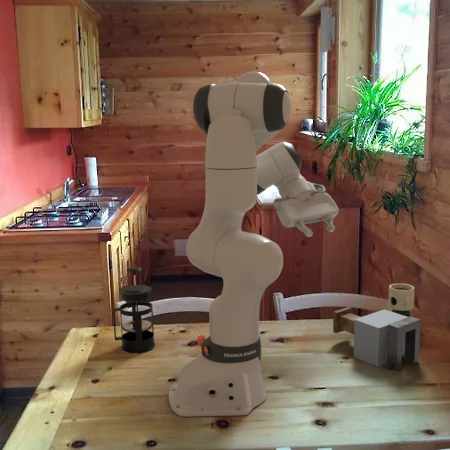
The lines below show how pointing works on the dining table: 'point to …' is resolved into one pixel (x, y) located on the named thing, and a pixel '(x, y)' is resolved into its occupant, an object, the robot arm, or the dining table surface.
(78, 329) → the dining table surface
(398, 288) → the character mug
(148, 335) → the french press
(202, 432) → the dining table surface
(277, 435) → the dining table surface
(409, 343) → the block
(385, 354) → the grey rectangular block
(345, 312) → the shaft
